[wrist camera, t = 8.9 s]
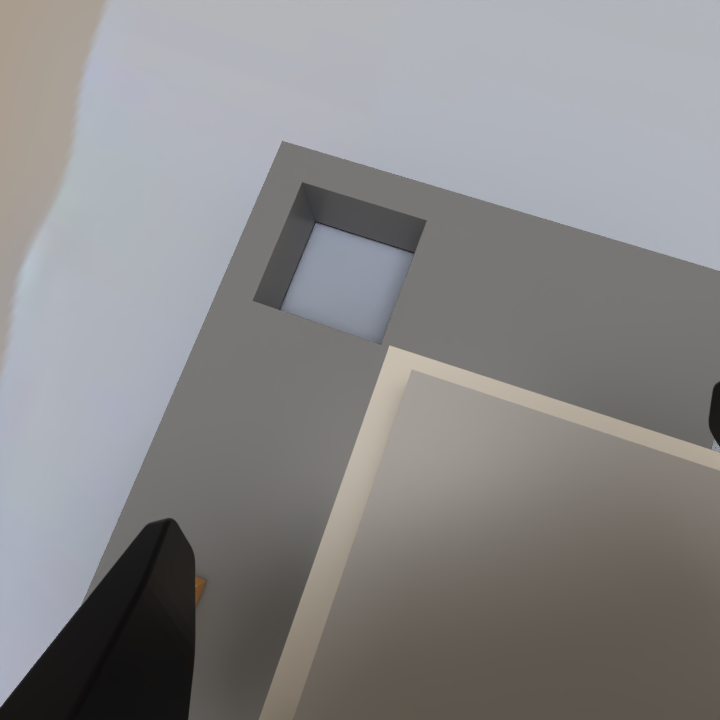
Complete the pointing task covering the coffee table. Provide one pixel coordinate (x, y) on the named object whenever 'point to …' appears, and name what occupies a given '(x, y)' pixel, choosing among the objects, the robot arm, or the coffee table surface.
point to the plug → (508, 564)
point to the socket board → (360, 374)
